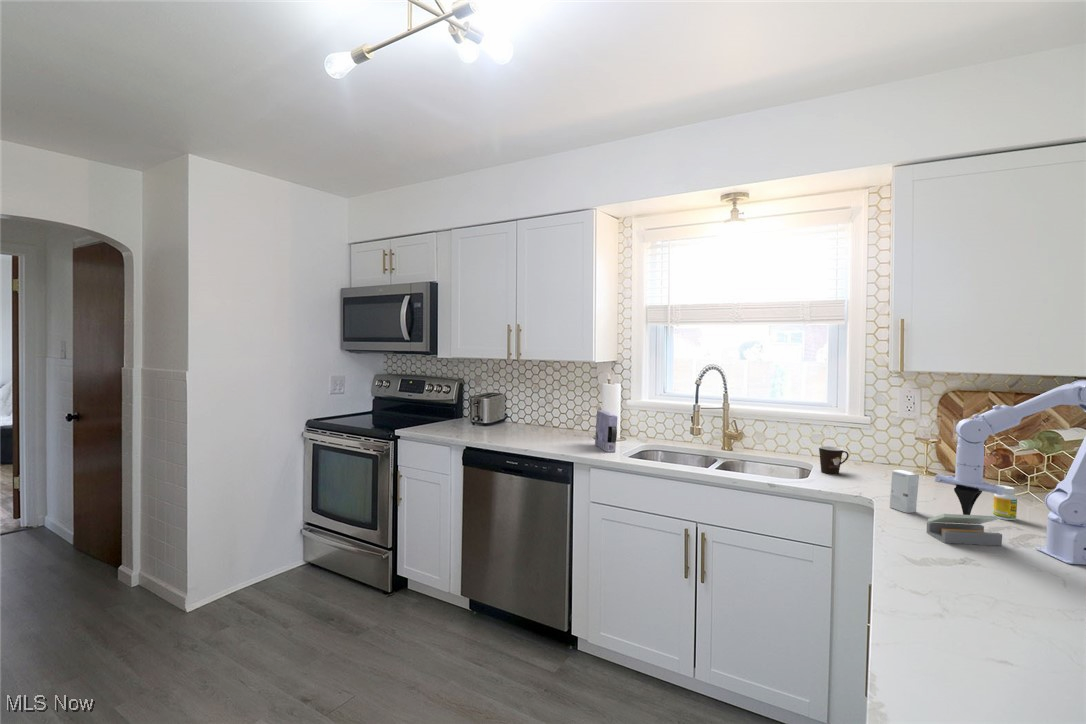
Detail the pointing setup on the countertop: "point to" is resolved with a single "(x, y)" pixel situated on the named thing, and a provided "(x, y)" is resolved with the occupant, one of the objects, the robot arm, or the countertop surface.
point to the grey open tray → (963, 534)
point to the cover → (962, 519)
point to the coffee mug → (831, 459)
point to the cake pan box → (606, 431)
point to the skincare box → (904, 491)
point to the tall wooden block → (962, 530)
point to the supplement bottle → (1005, 504)
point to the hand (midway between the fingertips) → (966, 514)
